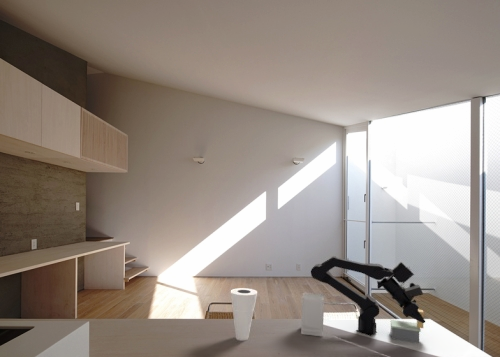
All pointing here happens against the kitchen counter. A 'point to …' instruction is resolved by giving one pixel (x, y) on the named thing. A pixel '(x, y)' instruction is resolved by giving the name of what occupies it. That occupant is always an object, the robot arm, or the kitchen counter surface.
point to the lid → (408, 324)
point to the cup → (243, 310)
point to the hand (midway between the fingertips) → (423, 321)
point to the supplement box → (312, 314)
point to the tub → (405, 335)
